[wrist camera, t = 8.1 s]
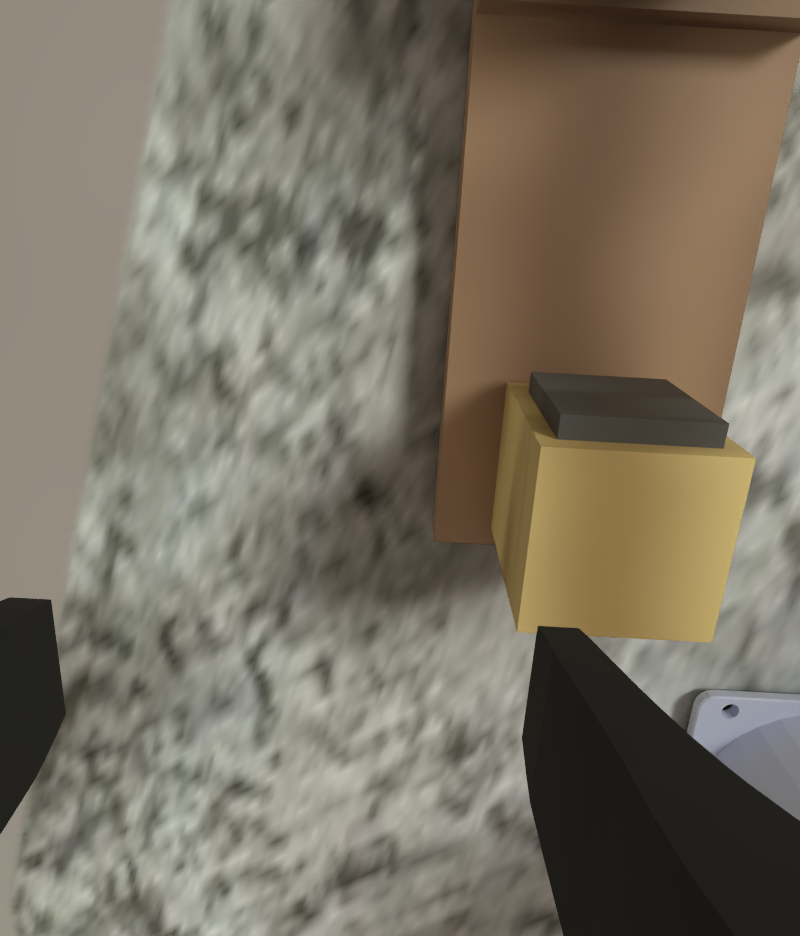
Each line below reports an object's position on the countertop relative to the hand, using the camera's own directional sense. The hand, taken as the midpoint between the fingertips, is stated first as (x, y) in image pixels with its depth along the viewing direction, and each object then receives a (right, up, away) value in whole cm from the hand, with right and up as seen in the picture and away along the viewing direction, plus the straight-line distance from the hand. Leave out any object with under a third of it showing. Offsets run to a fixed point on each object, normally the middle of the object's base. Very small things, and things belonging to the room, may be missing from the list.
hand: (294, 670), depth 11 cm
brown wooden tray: (+7, +11, +7) cm, 14 cm away
